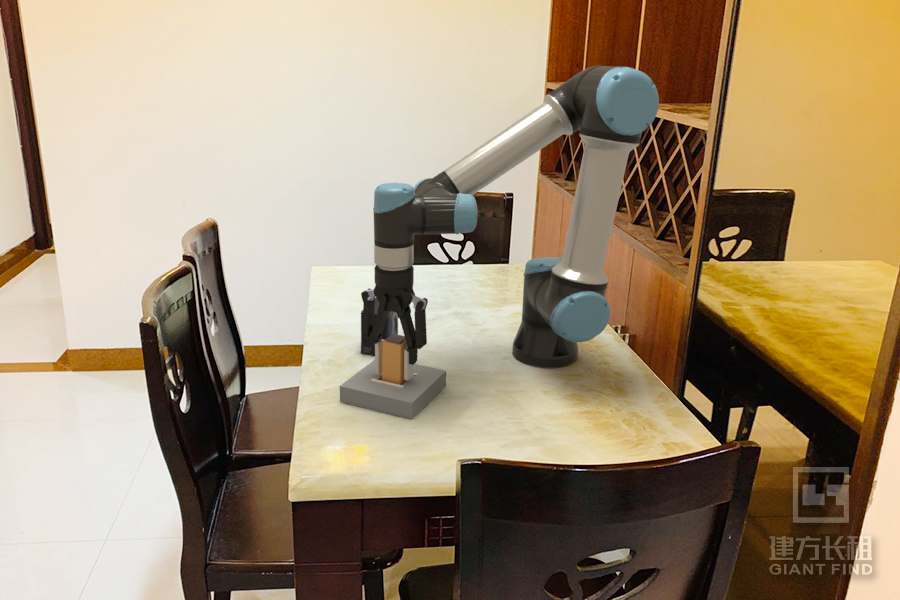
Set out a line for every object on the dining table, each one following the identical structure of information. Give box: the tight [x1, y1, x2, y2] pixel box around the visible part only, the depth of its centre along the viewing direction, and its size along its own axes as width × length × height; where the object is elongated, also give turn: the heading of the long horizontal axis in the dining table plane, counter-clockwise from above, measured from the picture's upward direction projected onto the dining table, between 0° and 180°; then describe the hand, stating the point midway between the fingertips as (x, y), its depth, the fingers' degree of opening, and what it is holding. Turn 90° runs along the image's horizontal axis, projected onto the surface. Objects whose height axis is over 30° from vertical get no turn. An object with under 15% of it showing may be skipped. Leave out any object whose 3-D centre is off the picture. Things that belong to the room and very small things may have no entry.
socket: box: [339, 359, 447, 420], centre depth 148 cm, size 16×16×4 cm
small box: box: [360, 297, 399, 356], centre depth 169 cm, size 11×6×10 cm, turn 168°
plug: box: [382, 333, 407, 385], centre depth 146 cm, size 4×4×12 cm
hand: (394, 374), depth 147 cm, fingers open, 6 cm apart
